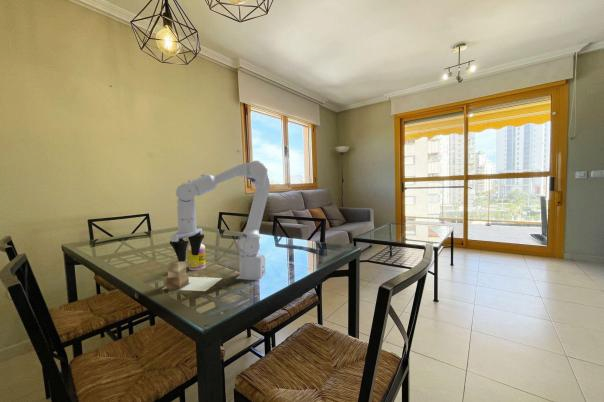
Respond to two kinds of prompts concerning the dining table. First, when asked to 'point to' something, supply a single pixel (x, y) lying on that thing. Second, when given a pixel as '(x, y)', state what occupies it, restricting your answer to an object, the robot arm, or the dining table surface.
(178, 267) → the maple pillar
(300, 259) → the dining table surface
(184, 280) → the walnut base
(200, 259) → the supplement bottle
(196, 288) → the cream flat slab
